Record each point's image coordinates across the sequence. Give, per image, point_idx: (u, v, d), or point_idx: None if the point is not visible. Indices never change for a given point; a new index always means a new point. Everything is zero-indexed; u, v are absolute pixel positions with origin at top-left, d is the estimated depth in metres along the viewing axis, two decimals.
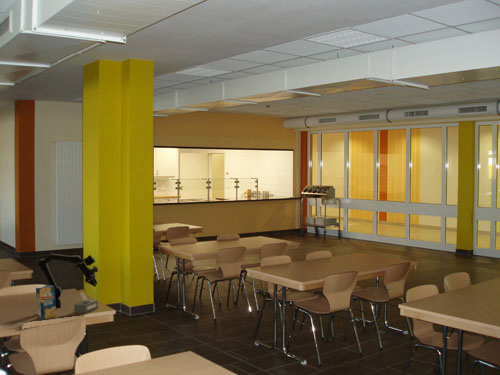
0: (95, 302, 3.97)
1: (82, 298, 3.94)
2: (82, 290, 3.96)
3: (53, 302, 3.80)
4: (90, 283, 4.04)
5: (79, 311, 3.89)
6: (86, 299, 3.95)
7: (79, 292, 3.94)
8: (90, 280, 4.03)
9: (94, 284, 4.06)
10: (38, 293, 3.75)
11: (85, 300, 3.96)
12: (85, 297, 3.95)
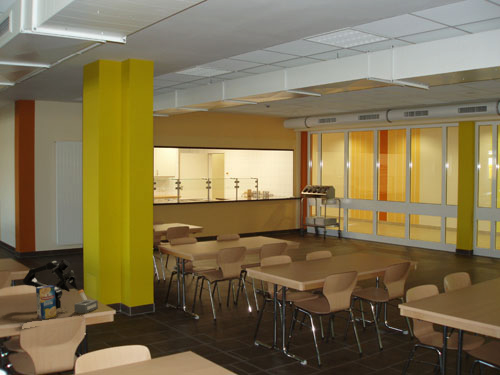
0: (95, 302, 3.97)
1: (82, 298, 3.94)
2: (82, 290, 3.96)
3: (53, 302, 3.80)
4: (63, 288, 3.96)
5: (79, 311, 3.89)
6: (86, 299, 3.95)
7: (79, 292, 3.94)
8: (61, 285, 3.94)
9: (67, 289, 3.96)
10: (38, 293, 3.75)
11: (85, 300, 3.96)
12: (85, 297, 3.95)
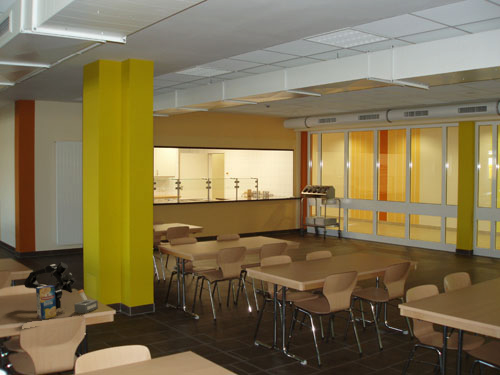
0: (95, 302, 3.97)
1: (82, 298, 3.94)
2: (82, 290, 3.96)
3: (53, 302, 3.80)
4: (65, 289, 3.99)
5: (79, 311, 3.89)
6: (86, 299, 3.95)
7: (79, 292, 3.94)
8: (63, 286, 3.98)
9: (69, 290, 3.99)
10: (38, 293, 3.75)
11: (85, 300, 3.96)
12: (85, 297, 3.95)
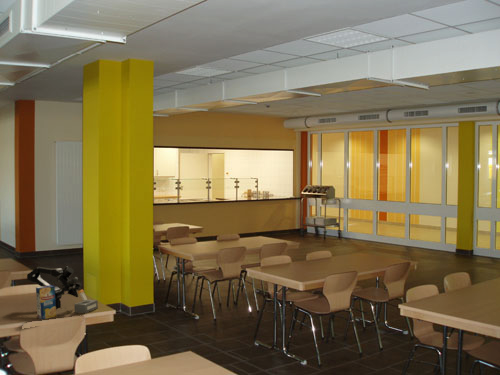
0: (95, 302, 3.97)
1: (82, 298, 3.94)
2: (82, 290, 3.96)
3: (53, 302, 3.80)
4: (71, 294, 3.97)
5: (79, 311, 3.89)
6: (86, 299, 3.95)
7: (79, 292, 3.94)
8: (69, 291, 3.96)
9: (75, 295, 3.97)
10: (38, 293, 3.75)
11: (85, 300, 3.96)
12: (85, 297, 3.95)
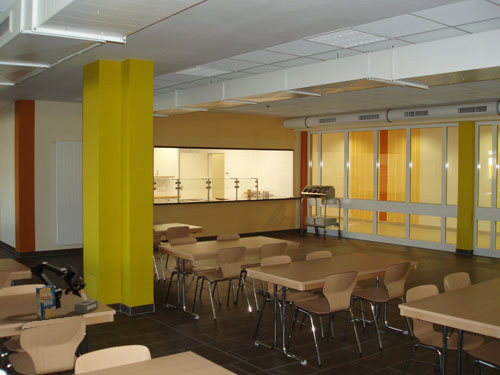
0: (95, 302, 3.97)
1: (82, 298, 3.94)
2: (83, 290, 3.96)
3: (53, 302, 3.80)
4: (75, 294, 3.96)
5: (79, 311, 3.89)
6: (86, 299, 3.95)
7: (80, 292, 3.94)
8: (73, 291, 3.94)
9: (79, 295, 3.95)
10: (38, 293, 3.75)
11: (85, 299, 3.95)
12: (85, 297, 3.95)
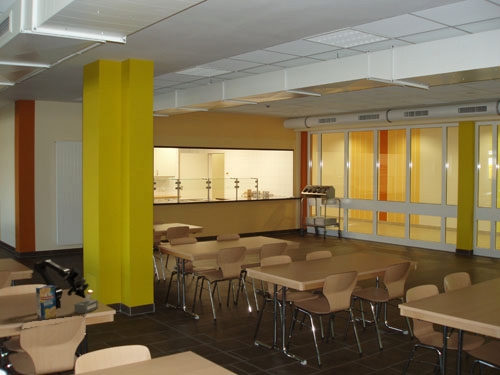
0: (95, 302, 3.97)
1: (85, 298, 3.93)
2: (91, 292, 3.93)
3: (53, 302, 3.80)
4: (78, 295, 3.95)
5: (79, 311, 3.89)
6: (87, 300, 3.95)
7: (88, 293, 3.91)
8: (76, 292, 3.93)
9: (82, 295, 3.94)
10: (38, 293, 3.75)
11: None
12: (88, 298, 3.94)
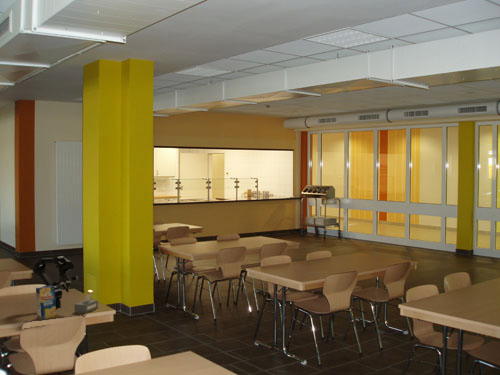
0: (95, 302, 3.97)
1: (85, 298, 3.93)
2: (91, 292, 3.93)
3: (53, 302, 3.80)
4: None
5: (79, 311, 3.89)
6: (87, 300, 3.95)
7: (88, 293, 3.91)
8: (60, 285, 3.98)
9: None
10: (38, 293, 3.75)
11: None
12: (88, 298, 3.94)
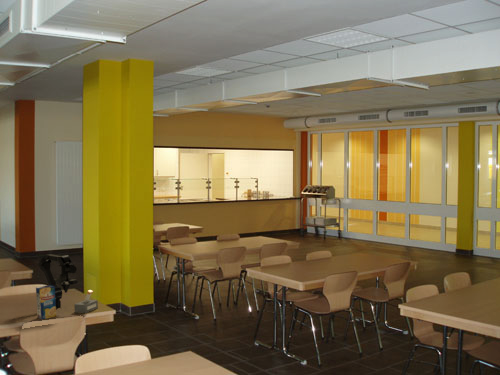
0: (95, 302, 3.97)
1: (85, 298, 3.93)
2: (91, 292, 3.93)
3: (53, 302, 3.80)
4: None
5: (79, 311, 3.89)
6: (87, 300, 3.95)
7: (88, 293, 3.91)
8: None
9: None
10: (38, 293, 3.75)
11: None
12: (88, 298, 3.94)
